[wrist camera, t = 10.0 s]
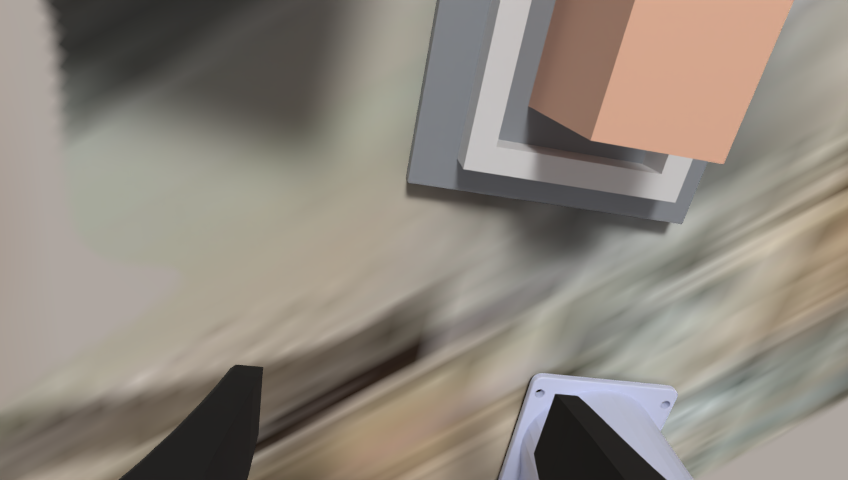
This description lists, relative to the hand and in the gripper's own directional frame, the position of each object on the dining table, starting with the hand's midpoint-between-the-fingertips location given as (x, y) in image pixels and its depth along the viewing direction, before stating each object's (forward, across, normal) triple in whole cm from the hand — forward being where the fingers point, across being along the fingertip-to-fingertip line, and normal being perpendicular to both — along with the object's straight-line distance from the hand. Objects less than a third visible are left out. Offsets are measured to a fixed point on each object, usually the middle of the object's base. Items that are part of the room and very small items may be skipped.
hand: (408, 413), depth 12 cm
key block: (+9, -6, -10) cm, 15 cm away
